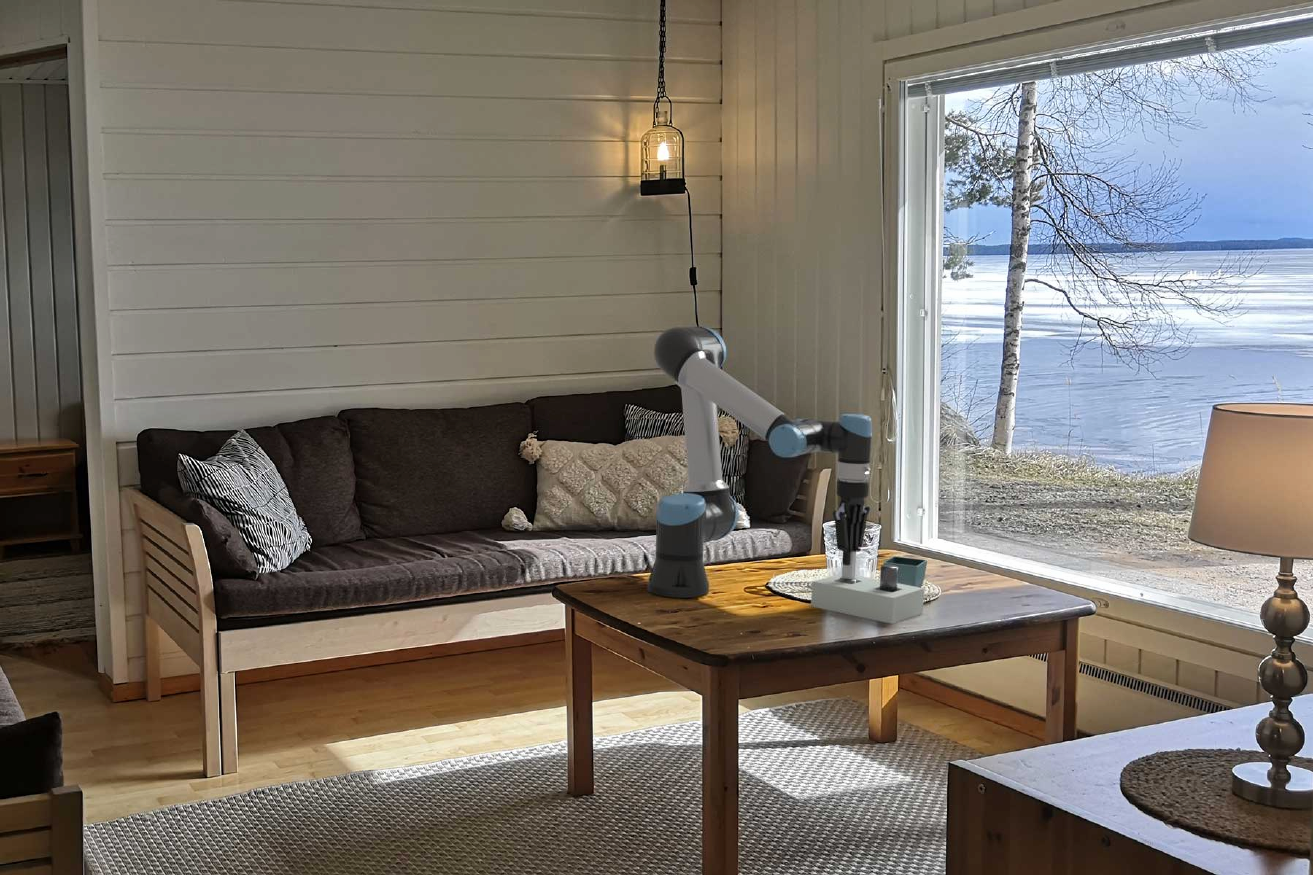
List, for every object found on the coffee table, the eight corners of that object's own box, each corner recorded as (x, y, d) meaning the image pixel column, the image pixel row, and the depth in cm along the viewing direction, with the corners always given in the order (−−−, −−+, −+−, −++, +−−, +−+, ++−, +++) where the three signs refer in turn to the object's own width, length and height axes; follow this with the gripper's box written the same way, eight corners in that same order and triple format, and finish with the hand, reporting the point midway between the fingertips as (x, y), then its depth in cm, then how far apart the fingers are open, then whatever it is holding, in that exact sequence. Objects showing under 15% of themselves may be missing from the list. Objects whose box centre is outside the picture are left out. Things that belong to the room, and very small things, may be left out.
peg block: (810, 606, 309) (812, 581, 308) (842, 596, 319) (844, 572, 319) (892, 623, 295) (893, 597, 294) (922, 613, 305) (924, 588, 305)
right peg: (876, 591, 303) (877, 566, 302) (885, 588, 306) (886, 563, 305) (891, 594, 300) (892, 569, 299) (900, 591, 303) (901, 566, 302)
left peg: (835, 603, 310) (836, 578, 310) (844, 600, 313) (845, 576, 313) (849, 606, 308) (850, 581, 307) (858, 603, 311) (859, 578, 310)
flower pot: (880, 597, 320) (882, 561, 319) (891, 590, 328) (893, 555, 327) (915, 602, 316) (917, 566, 315) (925, 595, 324) (927, 560, 323)
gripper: (852, 484, 300) (847, 584, 302) (881, 479, 310) (876, 576, 312) (824, 480, 304) (819, 579, 307) (854, 475, 314) (849, 571, 317)
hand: (848, 577), depth 310 cm, fingers closed
